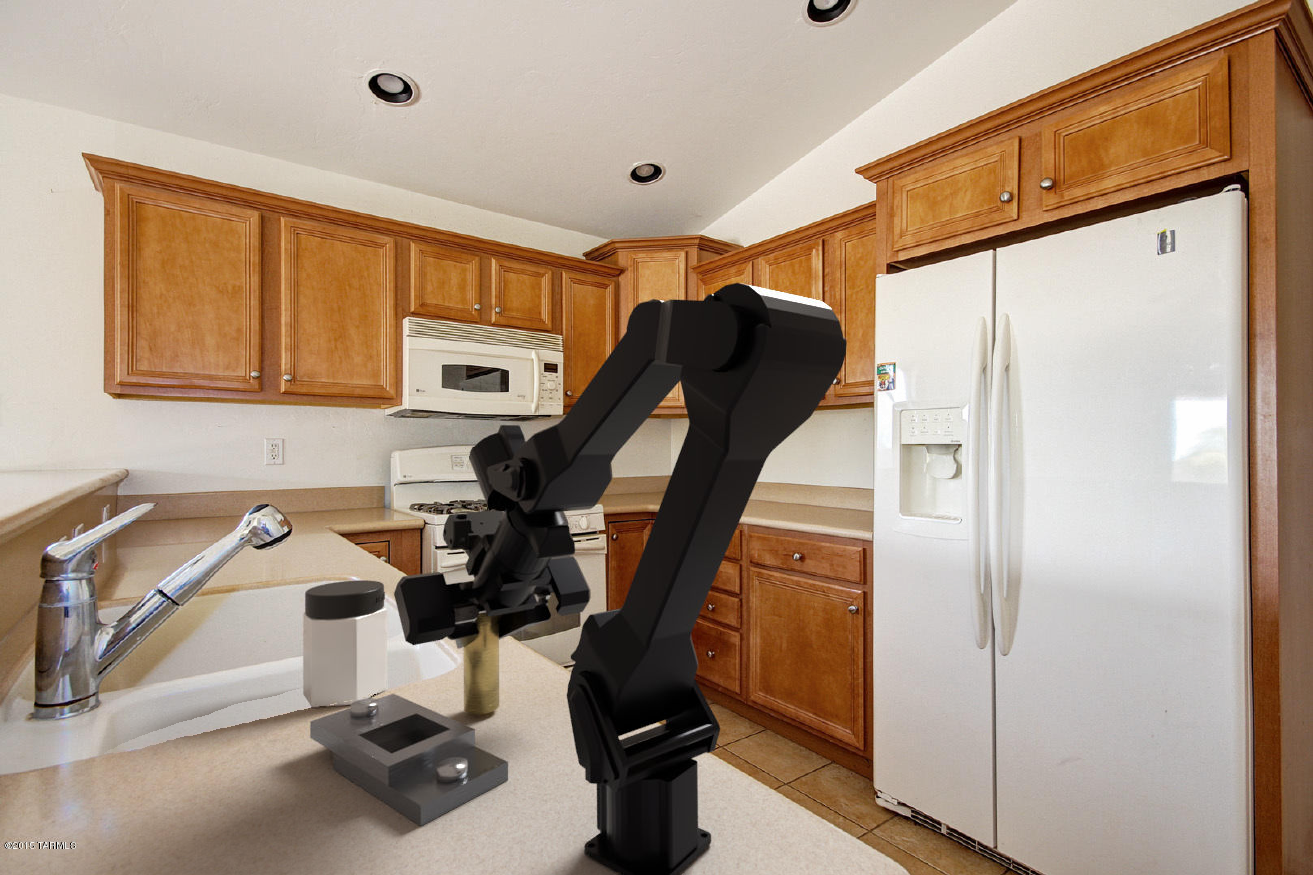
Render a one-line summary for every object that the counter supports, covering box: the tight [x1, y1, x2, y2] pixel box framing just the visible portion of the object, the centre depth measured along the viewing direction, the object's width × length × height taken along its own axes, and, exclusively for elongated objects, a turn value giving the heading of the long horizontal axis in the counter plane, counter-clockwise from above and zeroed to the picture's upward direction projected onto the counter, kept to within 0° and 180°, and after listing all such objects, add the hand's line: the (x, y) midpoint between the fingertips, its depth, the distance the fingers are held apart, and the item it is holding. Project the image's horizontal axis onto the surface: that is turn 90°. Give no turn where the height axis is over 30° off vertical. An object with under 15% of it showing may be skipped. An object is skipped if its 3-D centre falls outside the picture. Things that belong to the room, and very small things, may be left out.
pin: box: [463, 579, 500, 715], centre depth 66 cm, size 4×4×13 cm
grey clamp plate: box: [309, 693, 509, 827], centre depth 55 cm, size 18×8×4 cm, turn 52°
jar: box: [302, 579, 388, 708], centre depth 72 cm, size 9×8×12 cm
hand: (476, 640), depth 67 cm, fingers closed on pin, 4 cm apart
